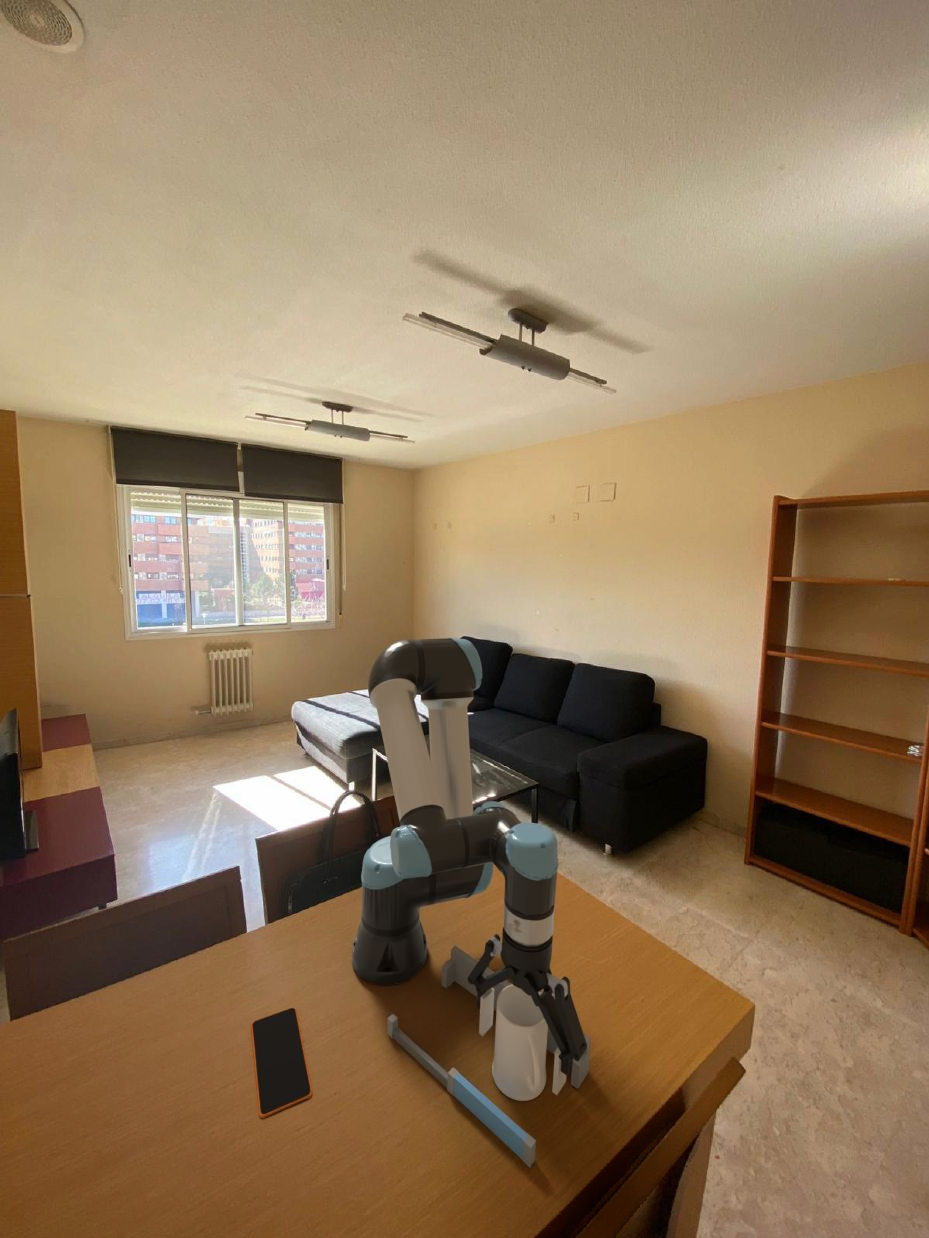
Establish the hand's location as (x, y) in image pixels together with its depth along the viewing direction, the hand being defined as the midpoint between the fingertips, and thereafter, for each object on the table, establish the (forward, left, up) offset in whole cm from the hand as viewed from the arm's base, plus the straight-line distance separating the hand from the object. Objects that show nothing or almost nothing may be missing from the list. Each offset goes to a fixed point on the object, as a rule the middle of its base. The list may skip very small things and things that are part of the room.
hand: (520, 1056), depth 78 cm
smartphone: (-31, -23, -5) cm, 39 cm away
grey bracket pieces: (-7, 0, -4) cm, 8 cm away
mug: (+1, 0, -4) cm, 4 cm away
